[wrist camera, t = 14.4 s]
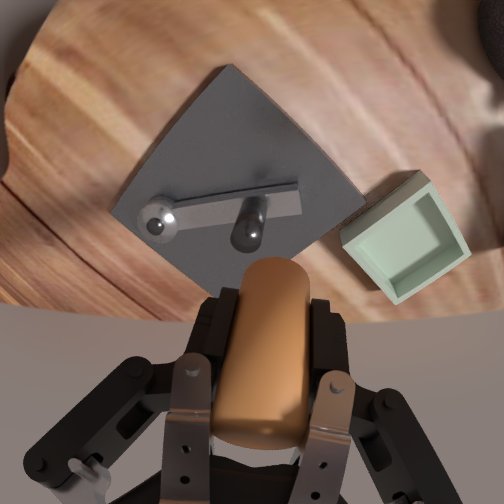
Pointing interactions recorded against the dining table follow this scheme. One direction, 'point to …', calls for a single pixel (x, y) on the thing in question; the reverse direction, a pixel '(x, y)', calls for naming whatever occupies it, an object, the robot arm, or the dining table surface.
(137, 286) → the dining table surface
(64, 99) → the dining table surface
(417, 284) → the tray
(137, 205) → the crank base
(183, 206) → the crank
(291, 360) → the pin
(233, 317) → the robot arm
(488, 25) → the teapot
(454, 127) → the dining table surface
